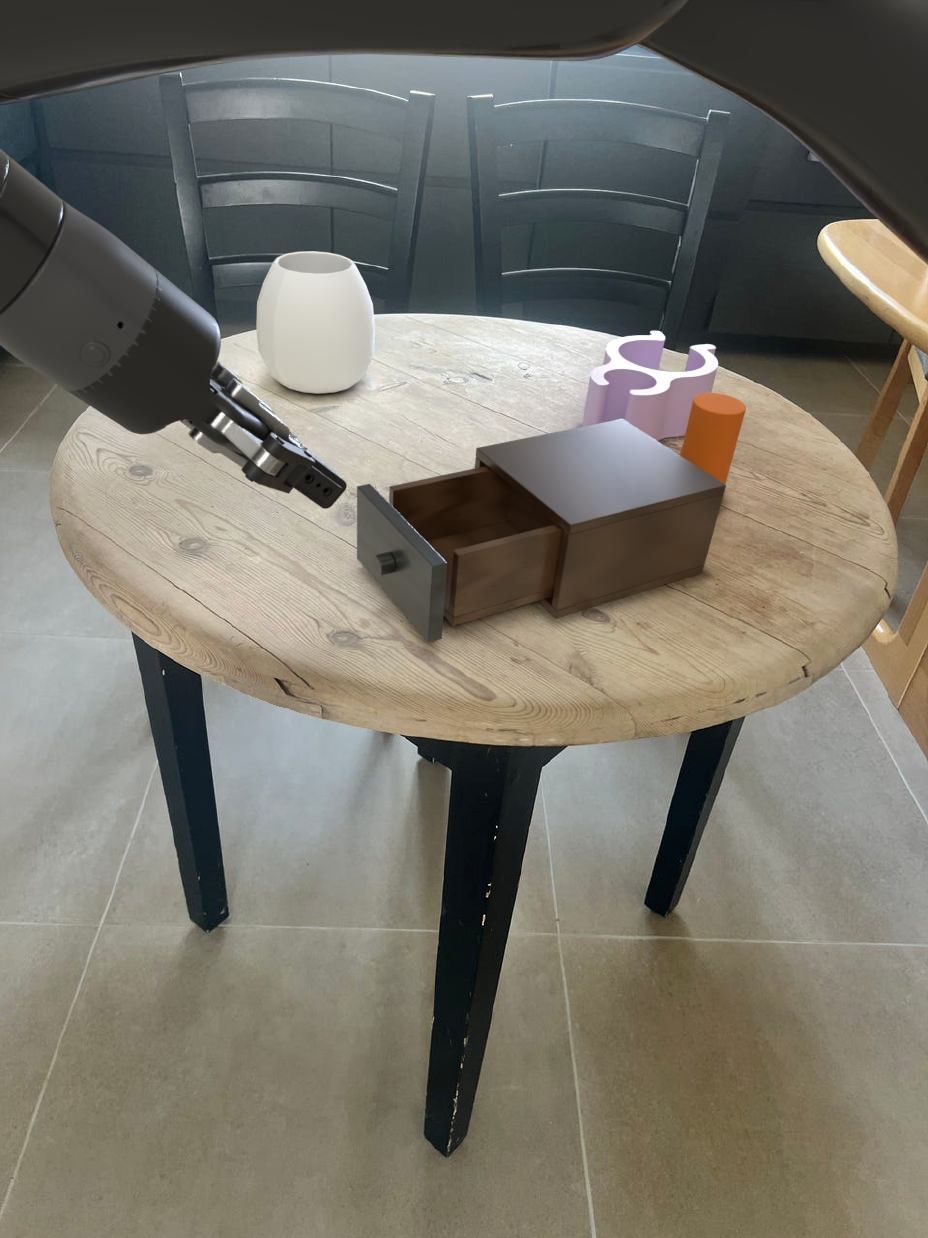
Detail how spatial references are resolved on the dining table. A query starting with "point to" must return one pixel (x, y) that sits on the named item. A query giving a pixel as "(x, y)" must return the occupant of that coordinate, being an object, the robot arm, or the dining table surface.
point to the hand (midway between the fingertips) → (333, 492)
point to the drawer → (456, 547)
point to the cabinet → (612, 509)
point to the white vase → (315, 322)
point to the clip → (647, 386)
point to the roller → (713, 433)
